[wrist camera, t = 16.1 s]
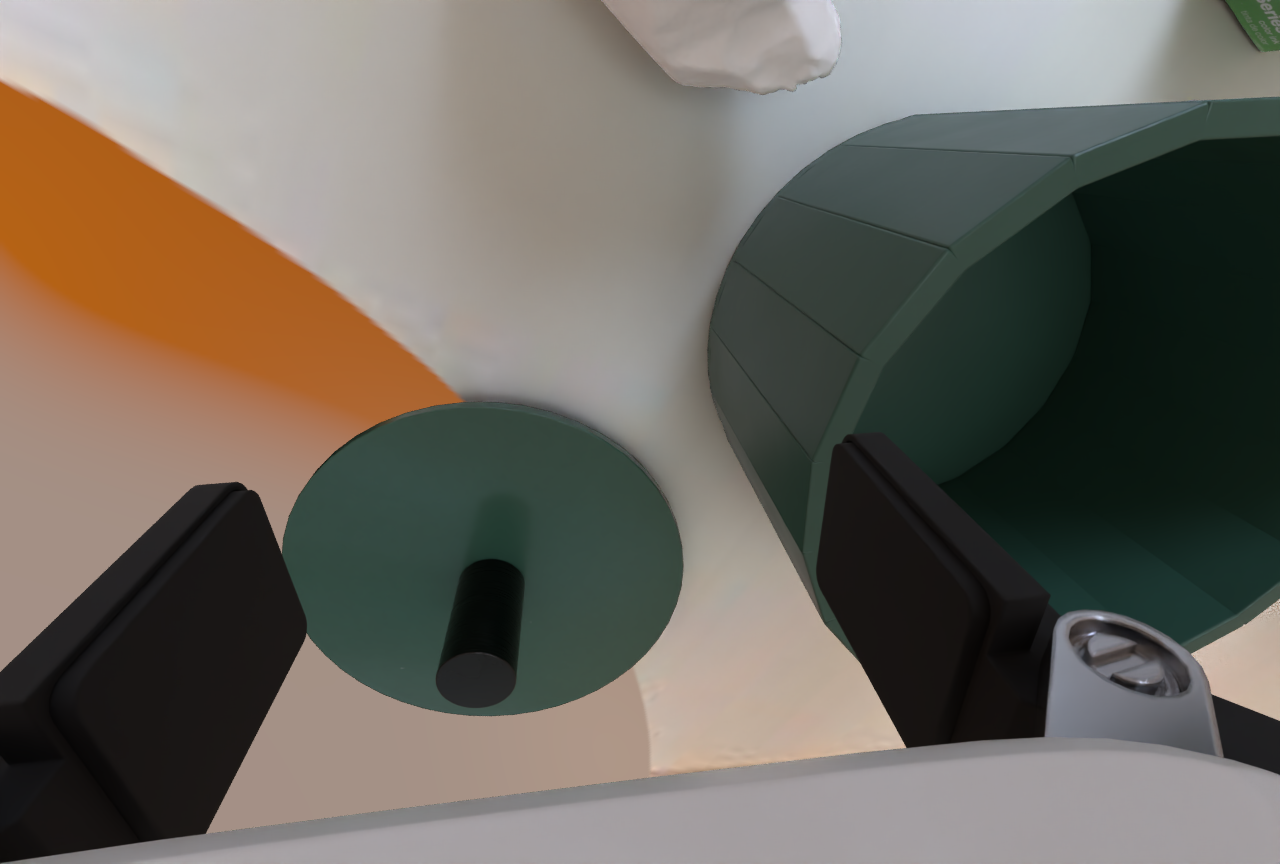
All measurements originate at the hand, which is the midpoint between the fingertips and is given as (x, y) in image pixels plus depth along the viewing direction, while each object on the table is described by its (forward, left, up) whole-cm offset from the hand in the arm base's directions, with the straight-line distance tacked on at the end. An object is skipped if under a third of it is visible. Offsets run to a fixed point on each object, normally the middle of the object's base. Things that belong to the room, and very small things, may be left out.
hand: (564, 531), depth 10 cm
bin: (+10, +10, -15) cm, 21 cm away
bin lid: (+7, -11, -14) cm, 20 cm away
